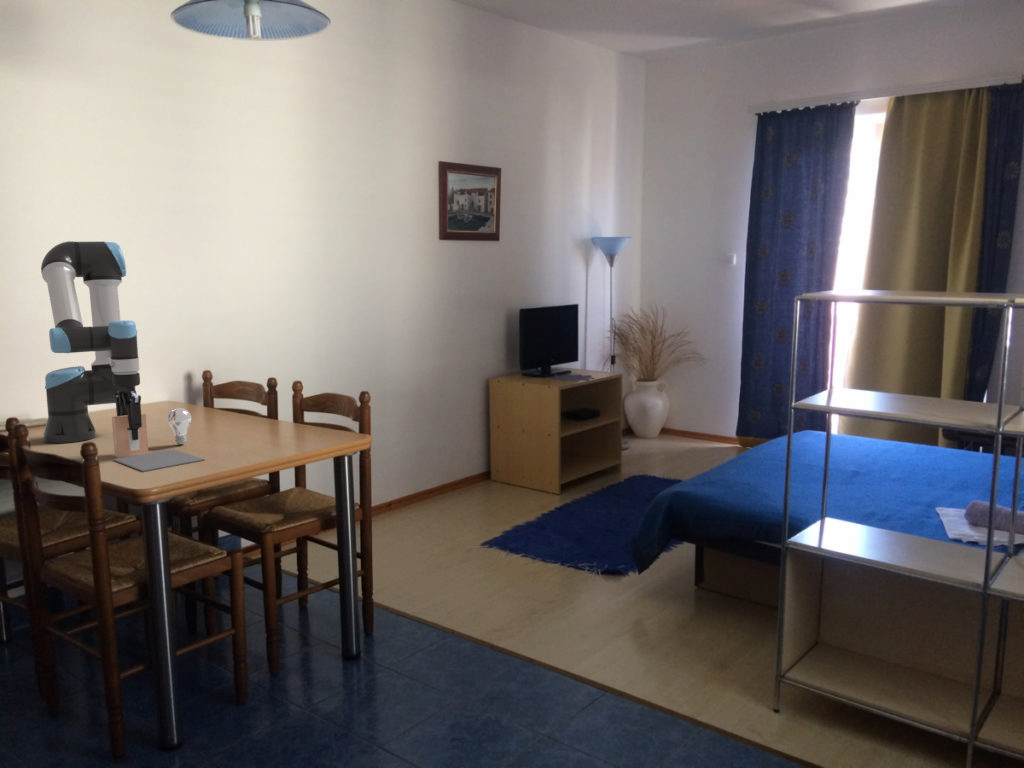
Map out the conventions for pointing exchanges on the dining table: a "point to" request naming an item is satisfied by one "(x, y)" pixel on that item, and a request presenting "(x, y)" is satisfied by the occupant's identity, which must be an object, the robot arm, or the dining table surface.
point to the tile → (122, 436)
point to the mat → (158, 460)
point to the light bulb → (179, 424)
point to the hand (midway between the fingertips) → (131, 448)
